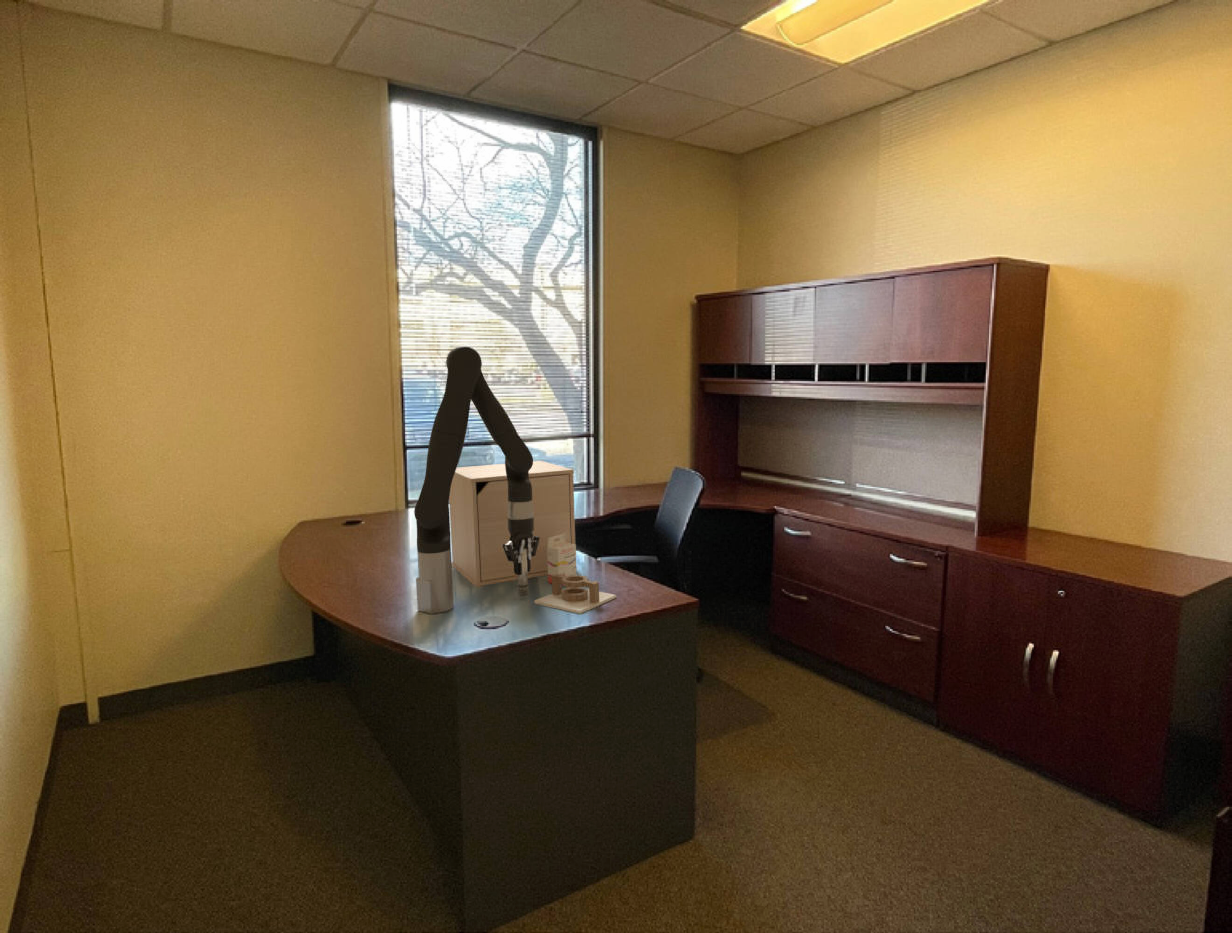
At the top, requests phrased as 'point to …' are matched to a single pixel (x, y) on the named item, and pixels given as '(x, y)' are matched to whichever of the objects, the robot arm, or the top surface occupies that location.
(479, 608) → the top surface
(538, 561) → the cabinet
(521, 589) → the tube
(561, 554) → the ink cartridge box
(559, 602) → the dock
